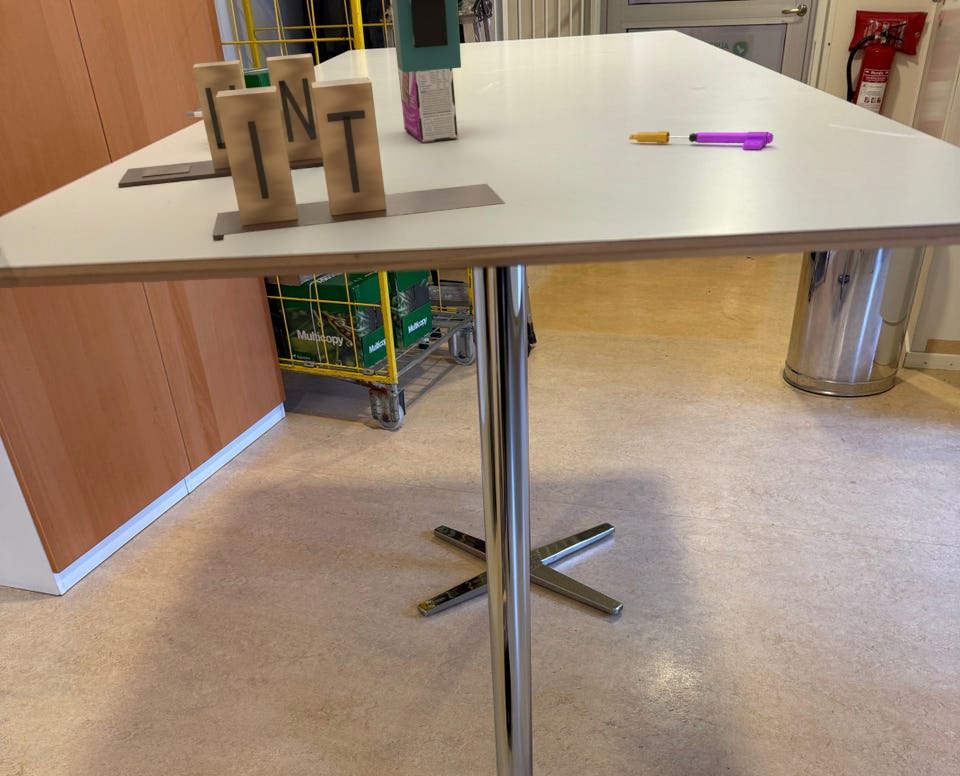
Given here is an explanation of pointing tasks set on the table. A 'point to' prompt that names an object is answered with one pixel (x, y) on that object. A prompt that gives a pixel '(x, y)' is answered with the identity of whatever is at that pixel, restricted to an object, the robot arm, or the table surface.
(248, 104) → the front word
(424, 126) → the candy bar box
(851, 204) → the table surface
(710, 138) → the marker pen
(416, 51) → the teal rectangular slab
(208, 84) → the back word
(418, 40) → the robot arm
